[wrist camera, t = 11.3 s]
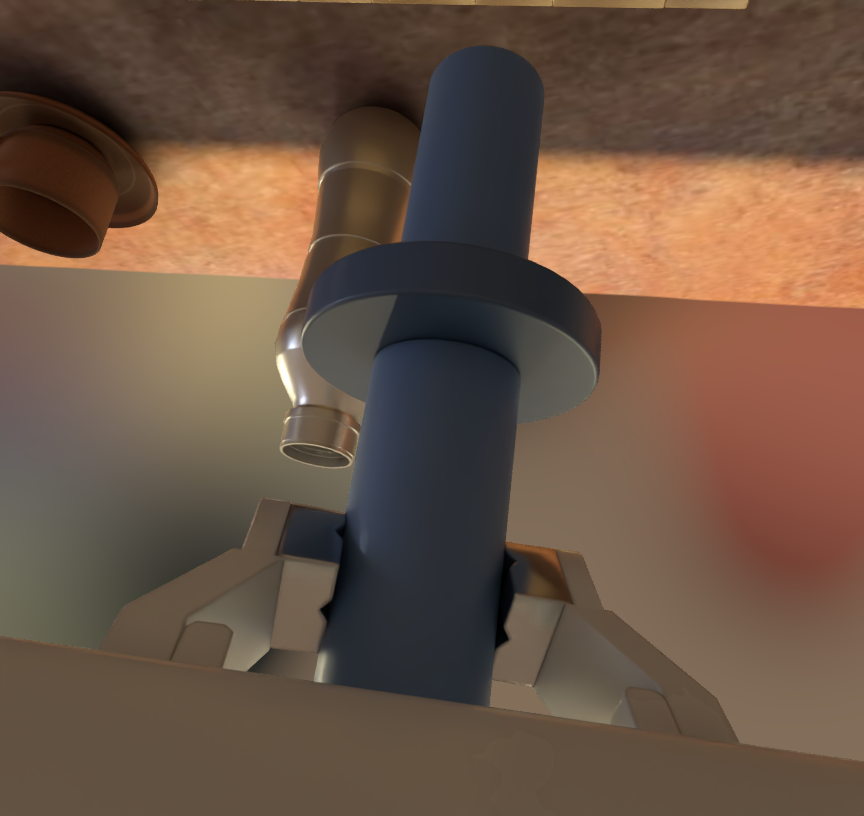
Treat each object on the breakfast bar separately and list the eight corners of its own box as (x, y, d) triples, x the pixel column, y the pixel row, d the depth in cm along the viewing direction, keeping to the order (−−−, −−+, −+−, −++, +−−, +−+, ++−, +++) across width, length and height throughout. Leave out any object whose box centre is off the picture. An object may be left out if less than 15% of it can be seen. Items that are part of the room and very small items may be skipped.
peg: (637, -22, 13) (607, 760, 8) (594, 184, 18) (561, 734, 13) (341, -28, 13) (150, 689, 9) (383, 172, 19) (277, 691, 14)
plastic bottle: (417, 81, 37) (349, 432, 30) (450, 169, 43) (401, 480, 35) (308, 96, 39) (220, 428, 32) (355, 179, 45) (289, 474, 37)
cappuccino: (-39, 147, 47) (-76, 221, 45) (-27, 33, 38) (-73, 120, 35) (140, 227, 53) (115, 296, 51) (189, 146, 44) (161, 226, 42)
